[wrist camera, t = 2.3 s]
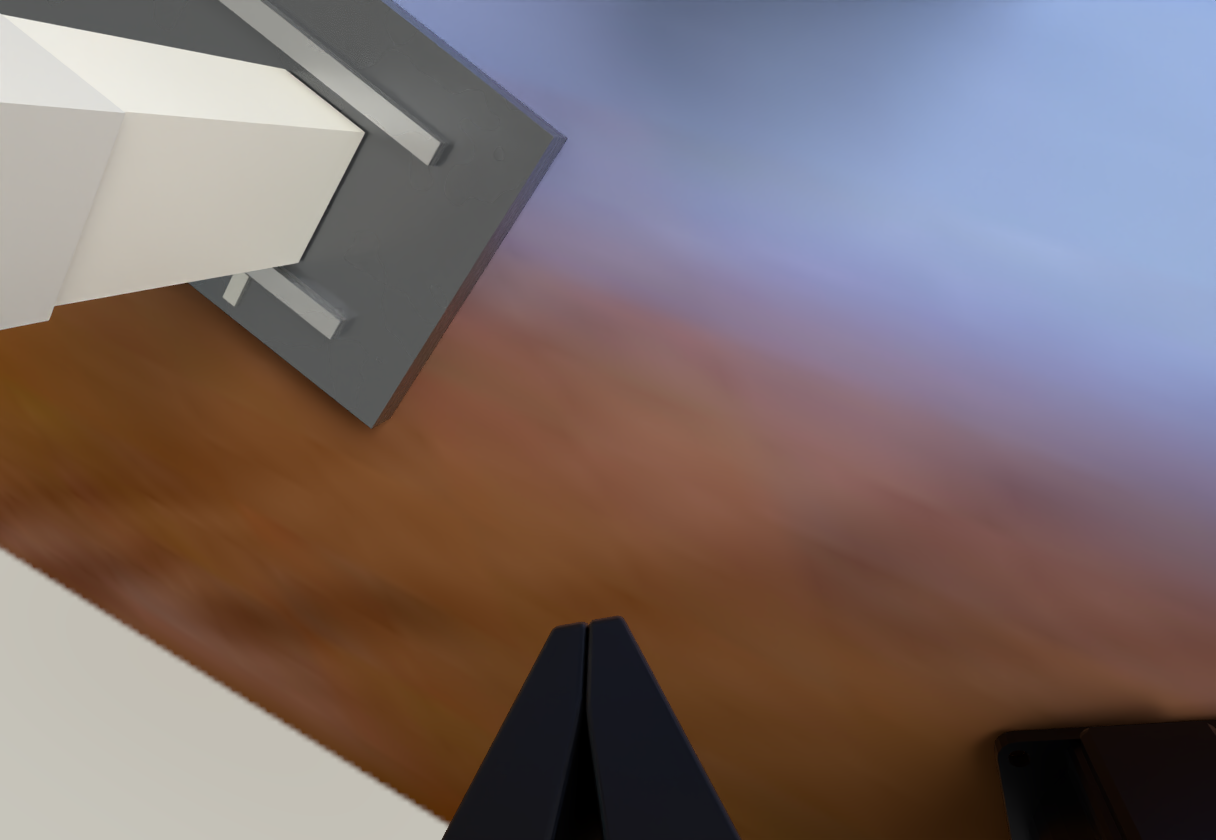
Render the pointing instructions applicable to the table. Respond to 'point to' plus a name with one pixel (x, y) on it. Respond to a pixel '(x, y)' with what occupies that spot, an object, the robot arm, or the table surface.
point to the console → (361, 179)
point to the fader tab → (150, 166)
